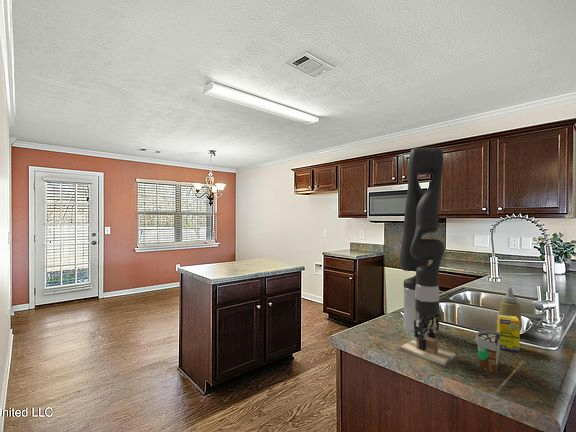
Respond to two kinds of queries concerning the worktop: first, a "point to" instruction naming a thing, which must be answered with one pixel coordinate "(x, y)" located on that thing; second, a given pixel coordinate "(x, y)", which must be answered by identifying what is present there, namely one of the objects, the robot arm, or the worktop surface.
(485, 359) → the food container
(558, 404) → the worktop surface
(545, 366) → the worktop surface
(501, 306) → the squeeze bottle
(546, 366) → the worktop surface
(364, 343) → the worktop surface
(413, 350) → the lid
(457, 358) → the mat
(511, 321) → the supplement box
